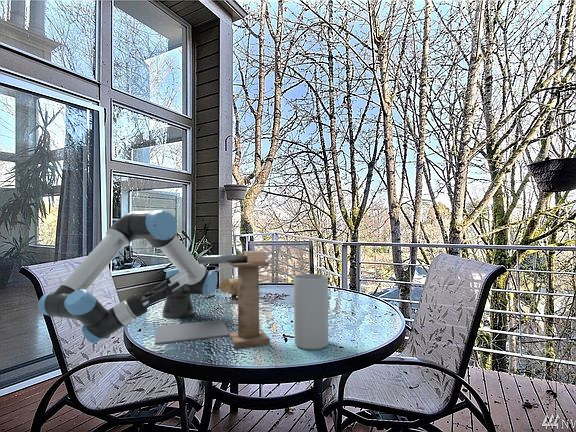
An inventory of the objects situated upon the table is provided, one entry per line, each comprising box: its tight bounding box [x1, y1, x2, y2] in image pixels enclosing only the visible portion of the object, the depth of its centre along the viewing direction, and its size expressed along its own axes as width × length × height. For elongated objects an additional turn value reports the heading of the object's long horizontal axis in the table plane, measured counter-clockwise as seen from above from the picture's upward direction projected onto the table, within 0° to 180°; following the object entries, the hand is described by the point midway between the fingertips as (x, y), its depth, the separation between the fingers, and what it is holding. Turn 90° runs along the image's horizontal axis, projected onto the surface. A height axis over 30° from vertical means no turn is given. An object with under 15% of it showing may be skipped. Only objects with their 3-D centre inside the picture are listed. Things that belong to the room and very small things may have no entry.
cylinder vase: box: [293, 273, 329, 351], centre depth 124 cm, size 12×12×25 cm
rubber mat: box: [154, 319, 230, 345], centre depth 140 cm, size 22×28×1 cm
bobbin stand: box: [228, 261, 271, 349], centre depth 129 cm, size 13×13×30 cm
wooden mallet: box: [198, 250, 267, 265], centre depth 127 cm, size 24×7×4 cm, turn 109°
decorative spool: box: [219, 278, 238, 299], centre depth 206 cm, size 10×12×30 cm
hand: (187, 274), depth 122 cm, fingers open, 13 cm apart
